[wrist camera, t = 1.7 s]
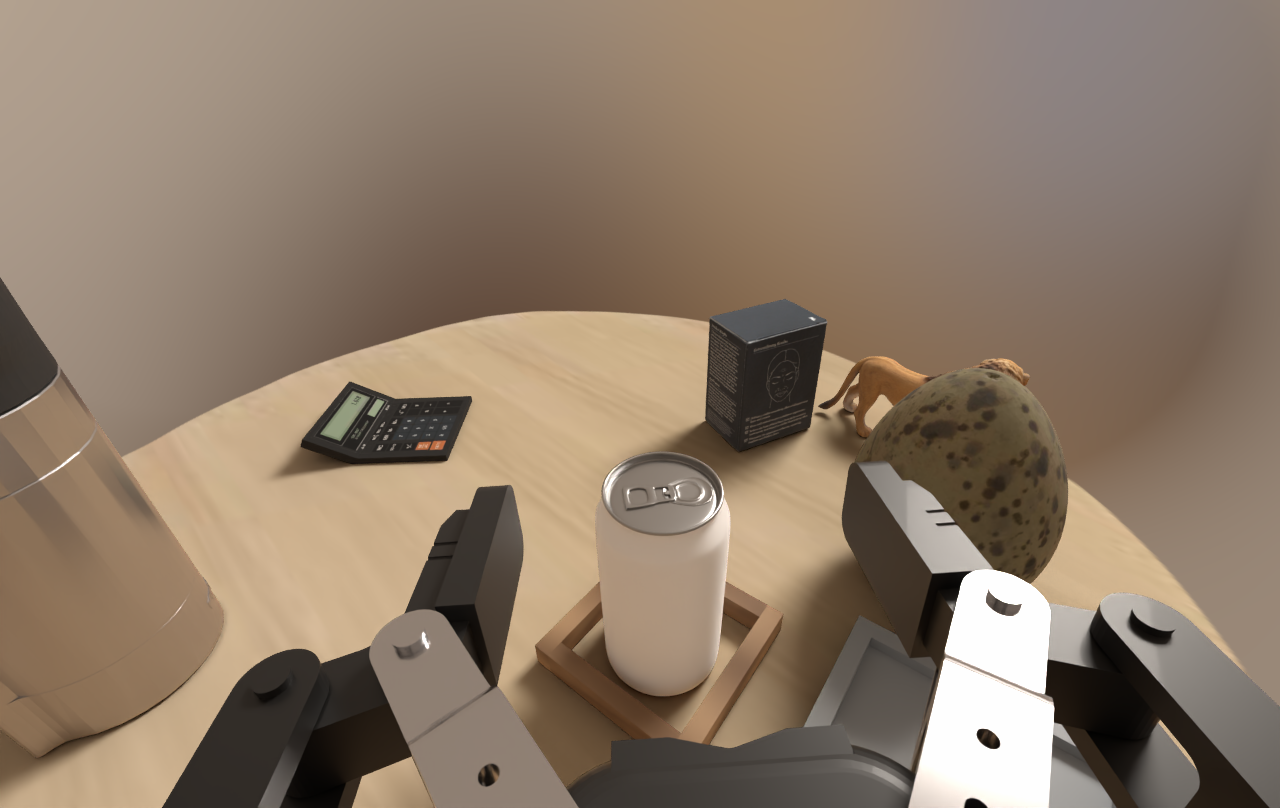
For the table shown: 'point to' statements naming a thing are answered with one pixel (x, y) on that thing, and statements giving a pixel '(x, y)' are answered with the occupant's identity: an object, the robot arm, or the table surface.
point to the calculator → (387, 427)
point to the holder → (628, 710)
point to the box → (763, 372)
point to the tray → (920, 711)
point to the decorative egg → (982, 463)
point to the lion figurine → (896, 384)
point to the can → (662, 570)
